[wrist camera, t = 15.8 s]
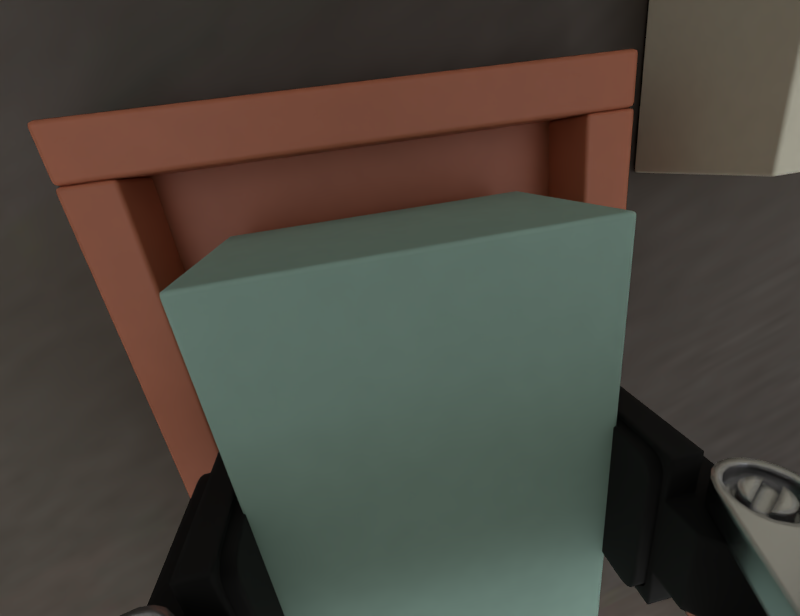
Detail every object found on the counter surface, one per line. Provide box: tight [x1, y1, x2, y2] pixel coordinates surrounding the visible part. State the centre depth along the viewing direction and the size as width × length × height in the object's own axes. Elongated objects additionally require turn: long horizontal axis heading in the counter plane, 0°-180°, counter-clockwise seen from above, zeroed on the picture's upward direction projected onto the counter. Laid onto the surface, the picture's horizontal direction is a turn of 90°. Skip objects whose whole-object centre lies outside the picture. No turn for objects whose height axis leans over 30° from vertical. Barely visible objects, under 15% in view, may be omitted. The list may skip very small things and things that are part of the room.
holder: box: [28, 49, 638, 498], centre depth 10 cm, size 15×10×2 cm
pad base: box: [160, 191, 636, 616], centre depth 8 cm, size 10×6×4 cm, turn 8°
